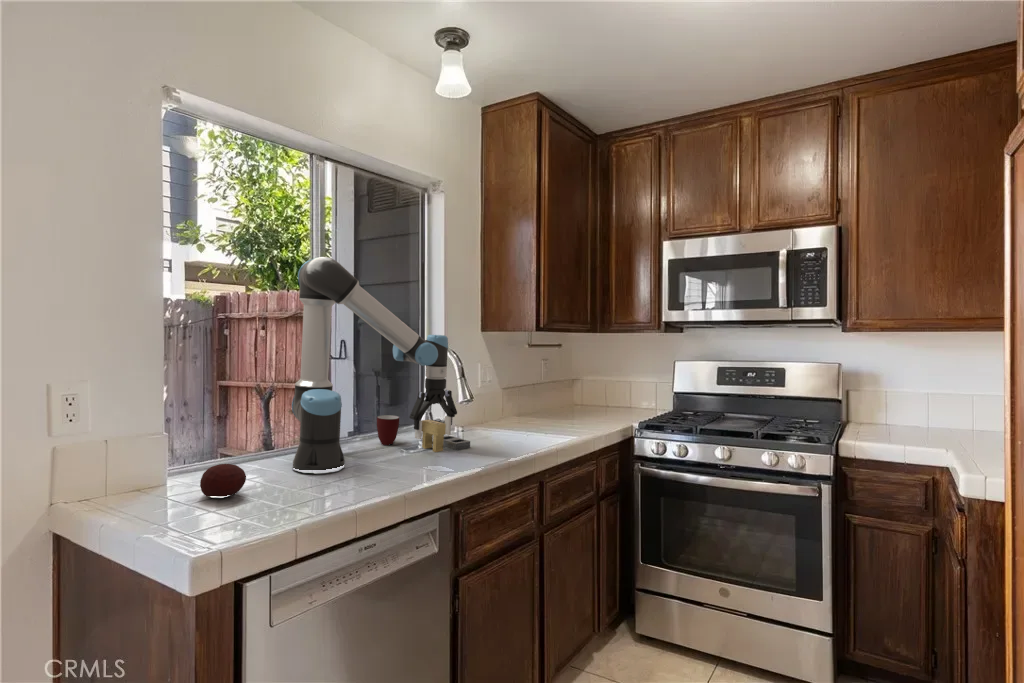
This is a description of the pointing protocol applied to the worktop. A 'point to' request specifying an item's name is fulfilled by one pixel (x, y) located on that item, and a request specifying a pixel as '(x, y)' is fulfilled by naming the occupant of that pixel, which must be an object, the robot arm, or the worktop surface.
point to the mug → (387, 428)
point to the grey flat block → (455, 443)
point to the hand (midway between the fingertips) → (433, 436)
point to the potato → (222, 480)
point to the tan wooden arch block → (433, 435)
